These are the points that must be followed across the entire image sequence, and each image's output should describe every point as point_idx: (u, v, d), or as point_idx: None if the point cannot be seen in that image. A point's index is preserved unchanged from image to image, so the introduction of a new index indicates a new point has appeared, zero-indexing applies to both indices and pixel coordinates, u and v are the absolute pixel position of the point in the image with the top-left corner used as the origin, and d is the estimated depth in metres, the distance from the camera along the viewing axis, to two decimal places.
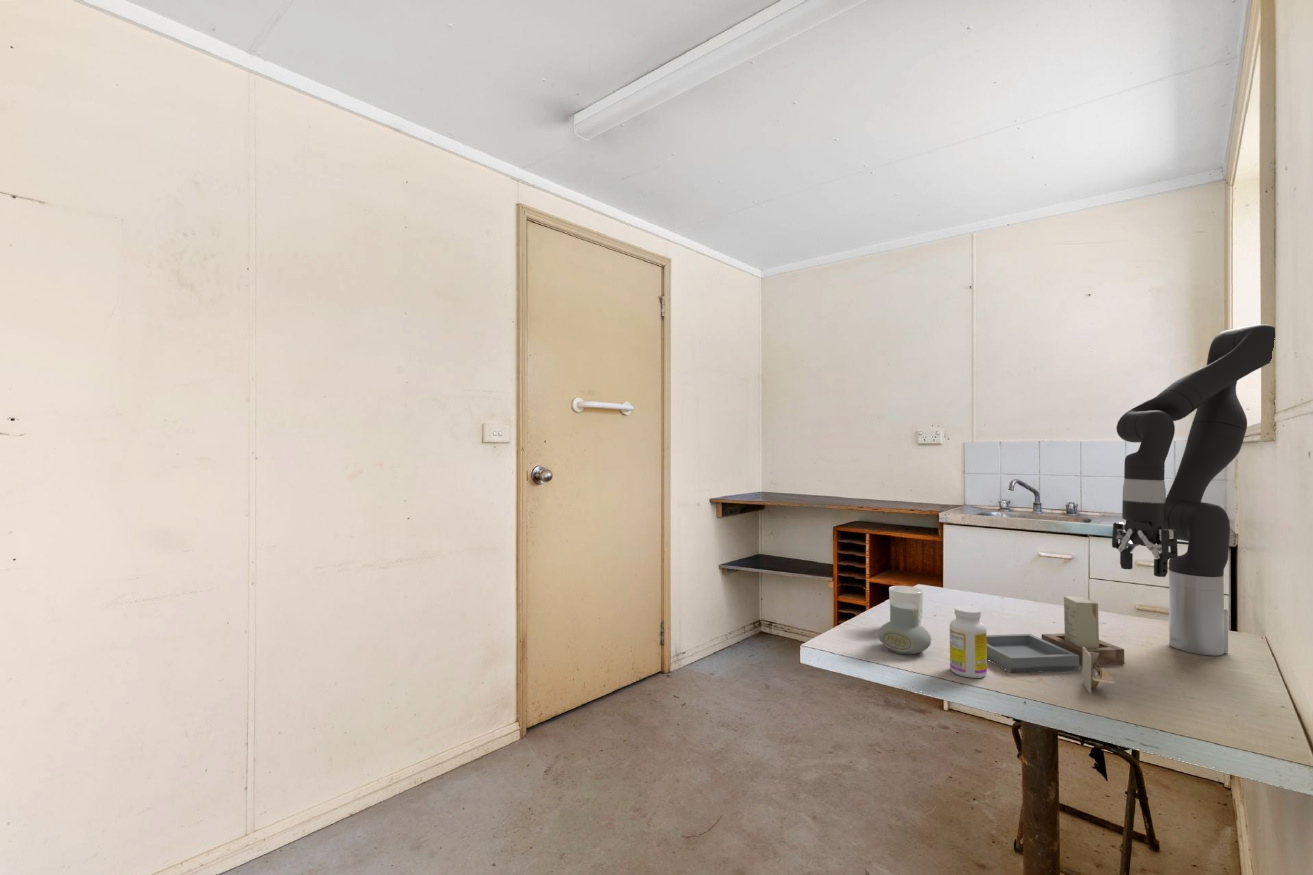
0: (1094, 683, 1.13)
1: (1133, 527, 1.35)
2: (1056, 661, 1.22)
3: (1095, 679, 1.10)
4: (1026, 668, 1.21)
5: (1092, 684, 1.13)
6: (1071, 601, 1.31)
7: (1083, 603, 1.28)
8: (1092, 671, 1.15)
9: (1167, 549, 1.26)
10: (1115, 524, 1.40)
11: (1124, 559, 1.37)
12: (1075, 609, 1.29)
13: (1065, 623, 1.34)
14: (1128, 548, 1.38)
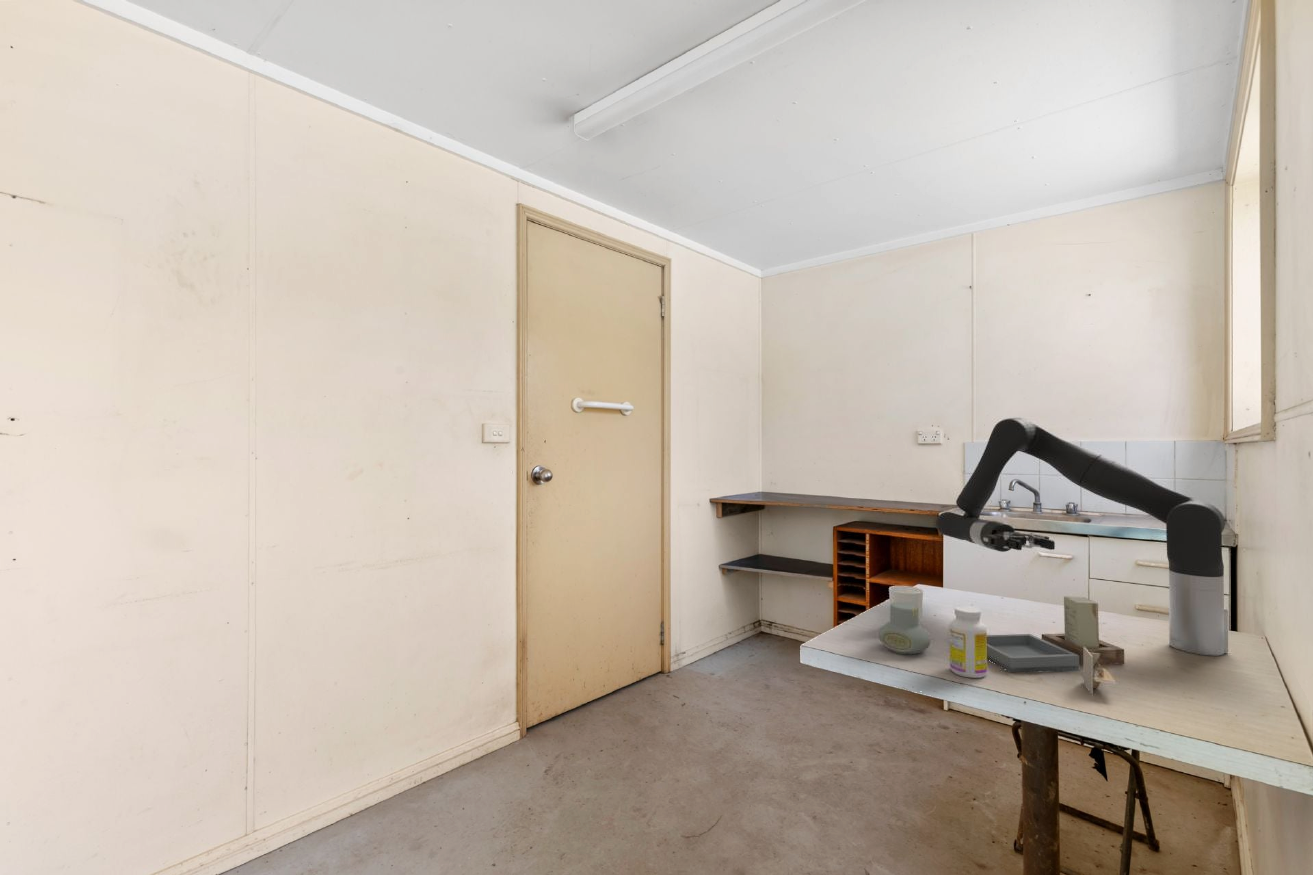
0: (1095, 684, 1.13)
1: None
2: (1056, 661, 1.22)
3: (1097, 680, 1.09)
4: (1026, 668, 1.21)
5: (1093, 685, 1.13)
6: (1071, 601, 1.31)
7: (1083, 603, 1.28)
8: (1093, 671, 1.15)
9: (992, 545, 1.50)
10: None
11: (1044, 547, 1.47)
12: (1075, 609, 1.29)
13: (1065, 623, 1.34)
14: (1038, 540, 1.49)
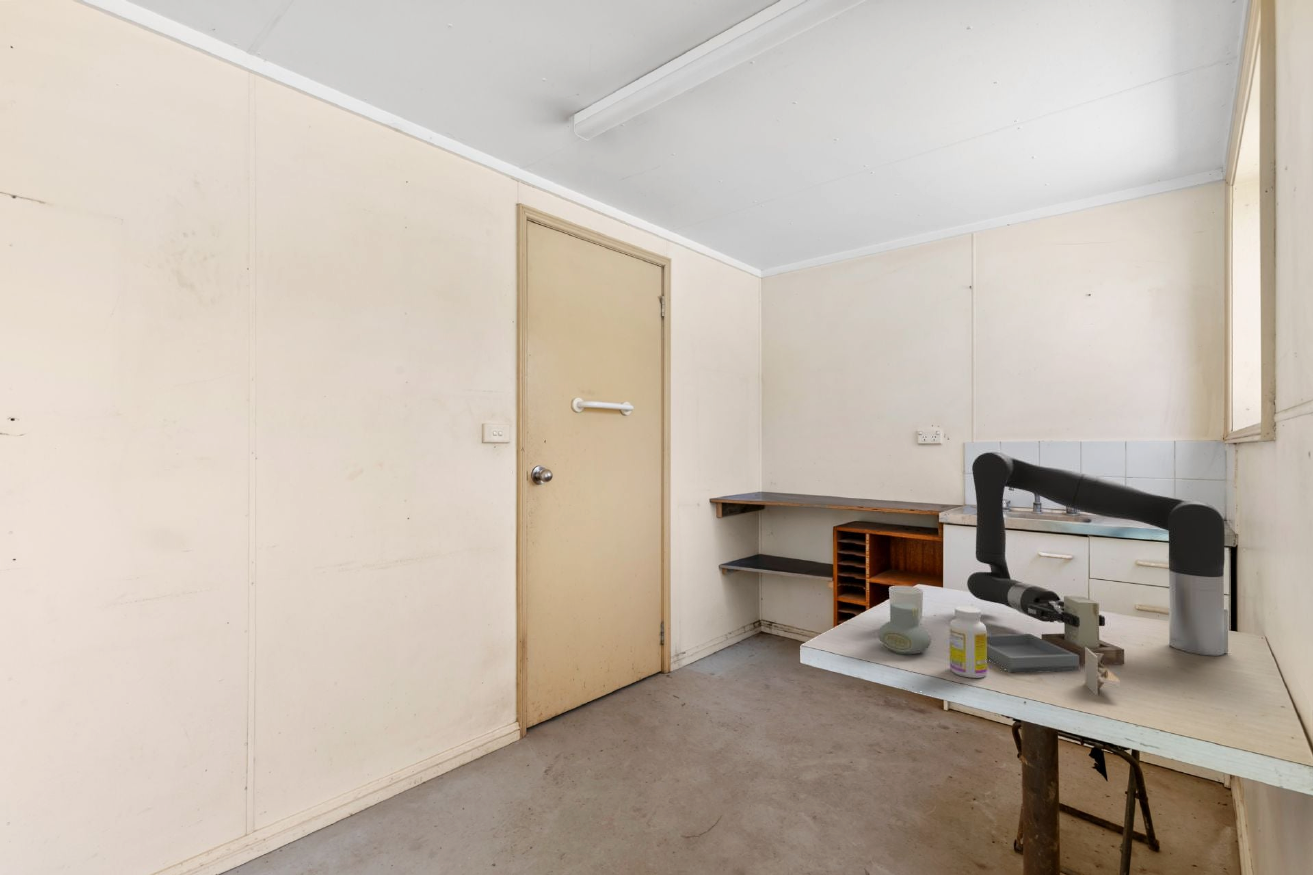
0: (1098, 684, 1.12)
1: None
2: (1056, 661, 1.22)
3: (1102, 680, 1.09)
4: (1026, 668, 1.21)
5: None
6: (1072, 601, 1.31)
7: (1084, 603, 1.28)
8: None
9: (1043, 619, 1.34)
10: None
11: None
12: (1075, 609, 1.29)
13: (1065, 623, 1.34)
14: None
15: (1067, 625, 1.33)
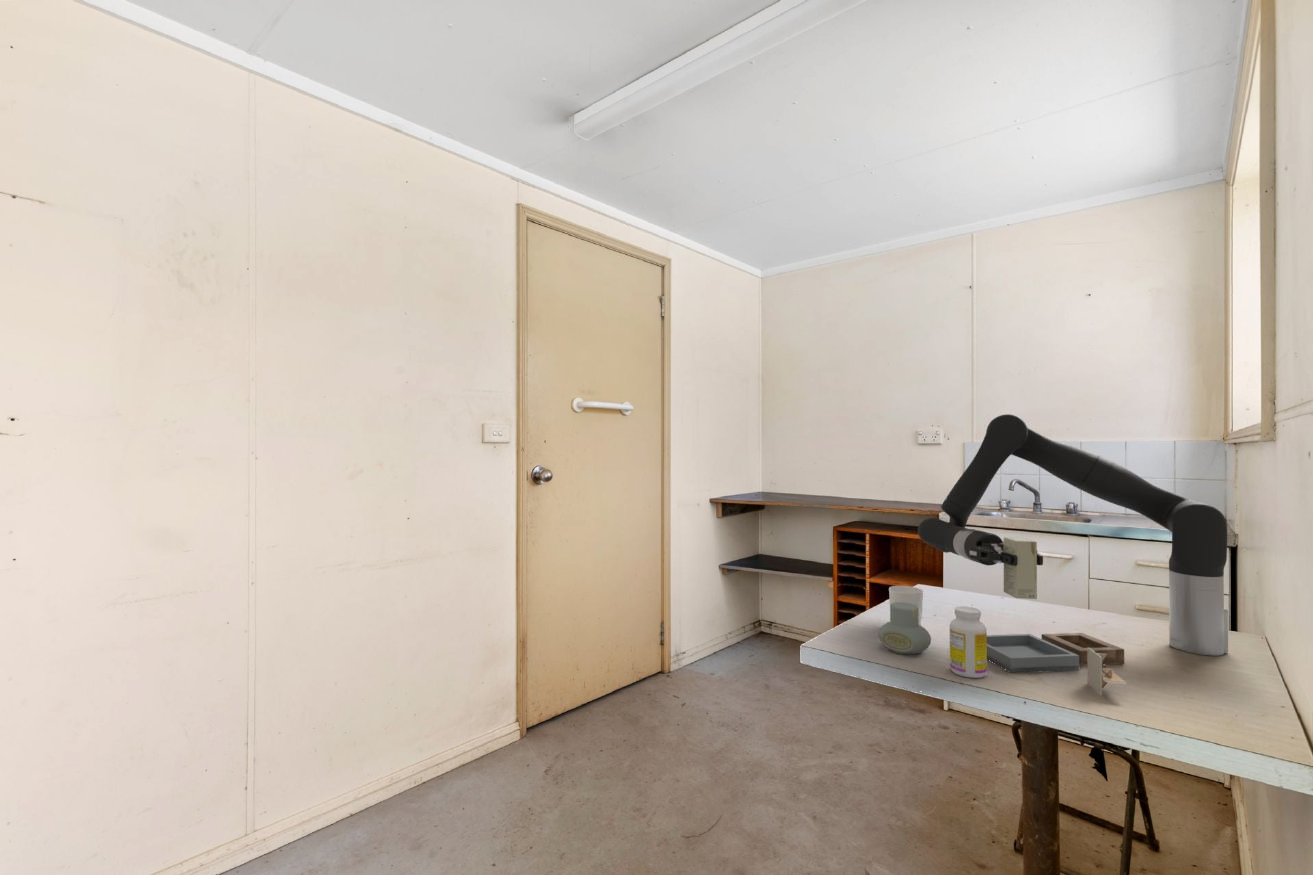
0: (1102, 684, 1.12)
1: None
2: (1056, 661, 1.22)
3: (1107, 681, 1.09)
4: (1026, 668, 1.21)
5: None
6: (1010, 541, 1.29)
7: (1022, 541, 1.26)
8: None
9: (983, 560, 1.32)
10: None
11: None
12: (1014, 548, 1.27)
13: (1004, 564, 1.31)
14: None
15: (1006, 566, 1.31)
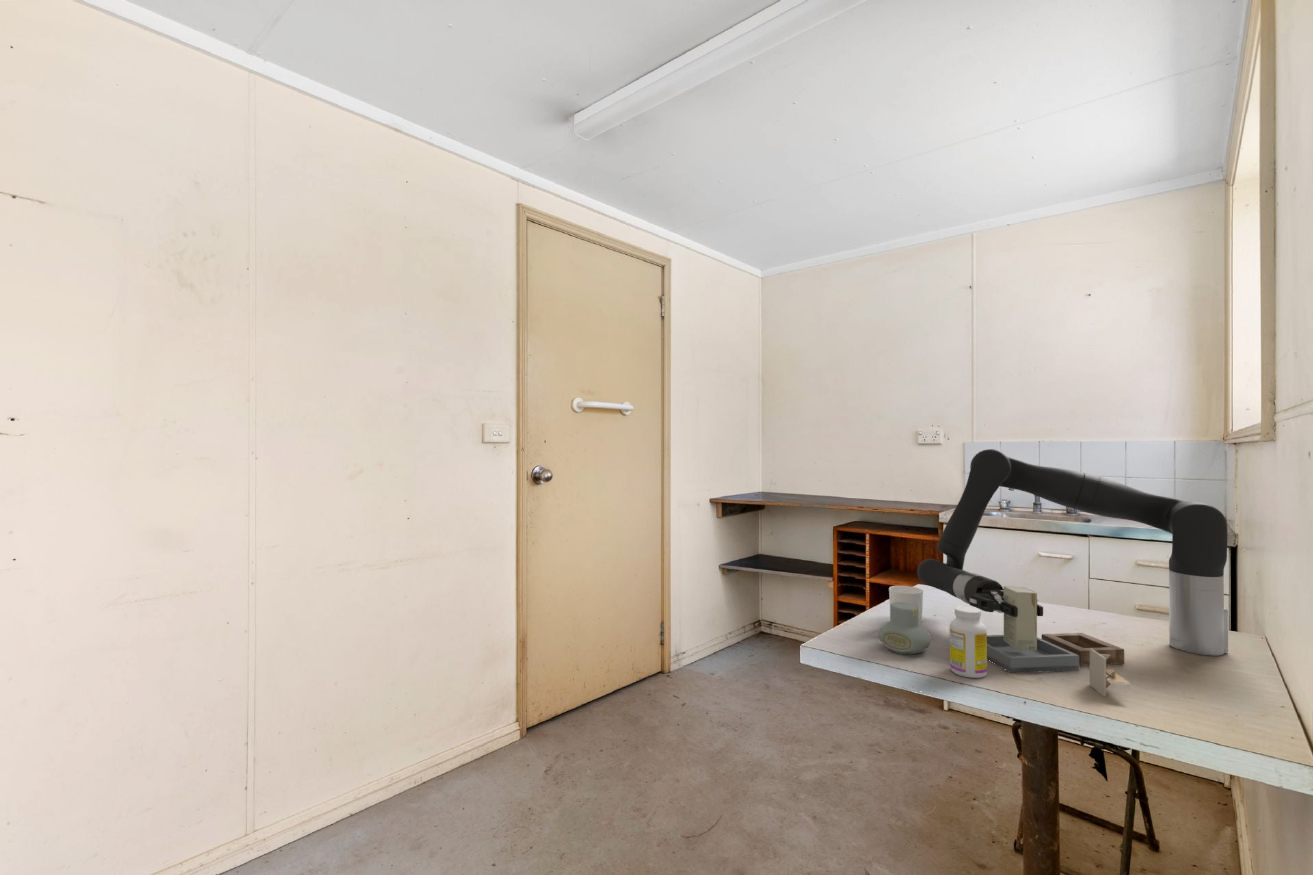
0: None
1: None
2: (1056, 661, 1.22)
3: (1111, 682, 1.08)
4: (1026, 668, 1.21)
5: None
6: (1011, 591, 1.29)
7: (1022, 593, 1.26)
8: None
9: (984, 609, 1.31)
10: None
11: None
12: (1014, 599, 1.27)
13: (1004, 613, 1.31)
14: None
15: (1006, 615, 1.30)
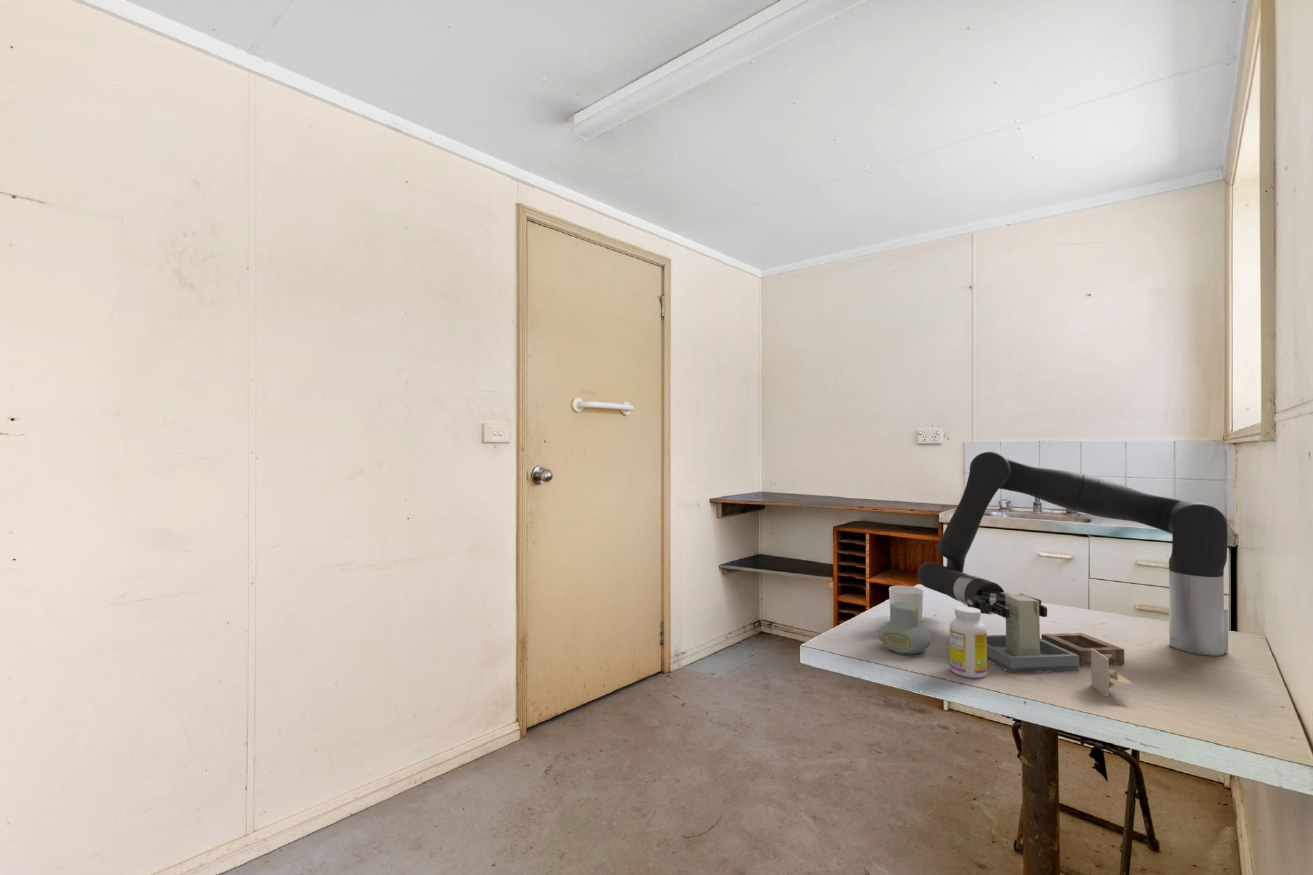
0: None
1: None
2: (1056, 661, 1.22)
3: (1114, 682, 1.08)
4: (1026, 668, 1.21)
5: None
6: (1013, 599, 1.29)
7: (1025, 601, 1.26)
8: None
9: None
10: None
11: None
12: (1016, 608, 1.27)
13: (1006, 621, 1.31)
14: None
15: (1008, 624, 1.30)
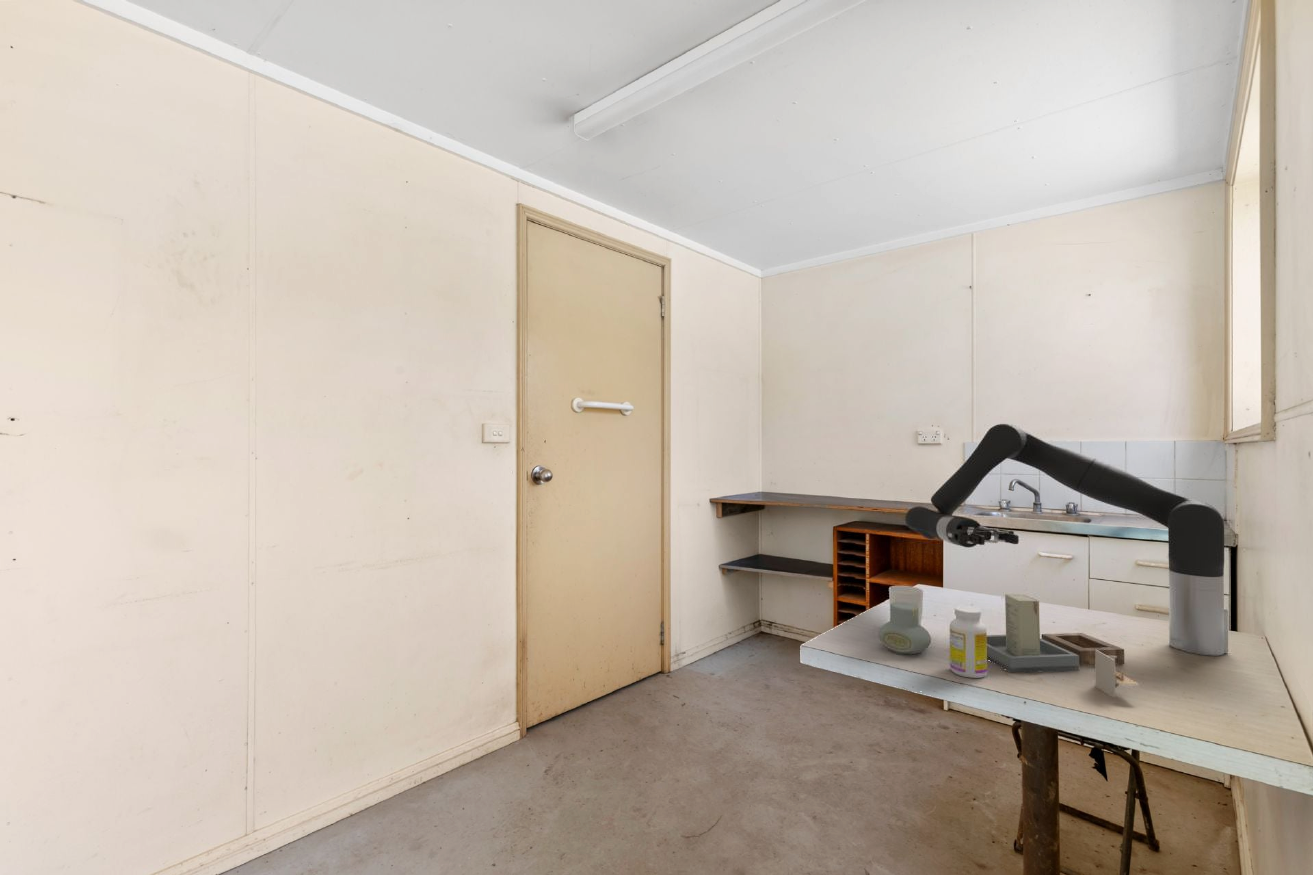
0: None
1: None
2: (1056, 661, 1.22)
3: (1121, 684, 1.08)
4: (1026, 668, 1.21)
5: None
6: (1013, 599, 1.29)
7: (1025, 601, 1.26)
8: None
9: (956, 540, 1.46)
10: None
11: (1009, 542, 1.44)
12: (1016, 608, 1.27)
13: (1006, 622, 1.31)
14: (1003, 535, 1.46)
15: (1008, 624, 1.30)
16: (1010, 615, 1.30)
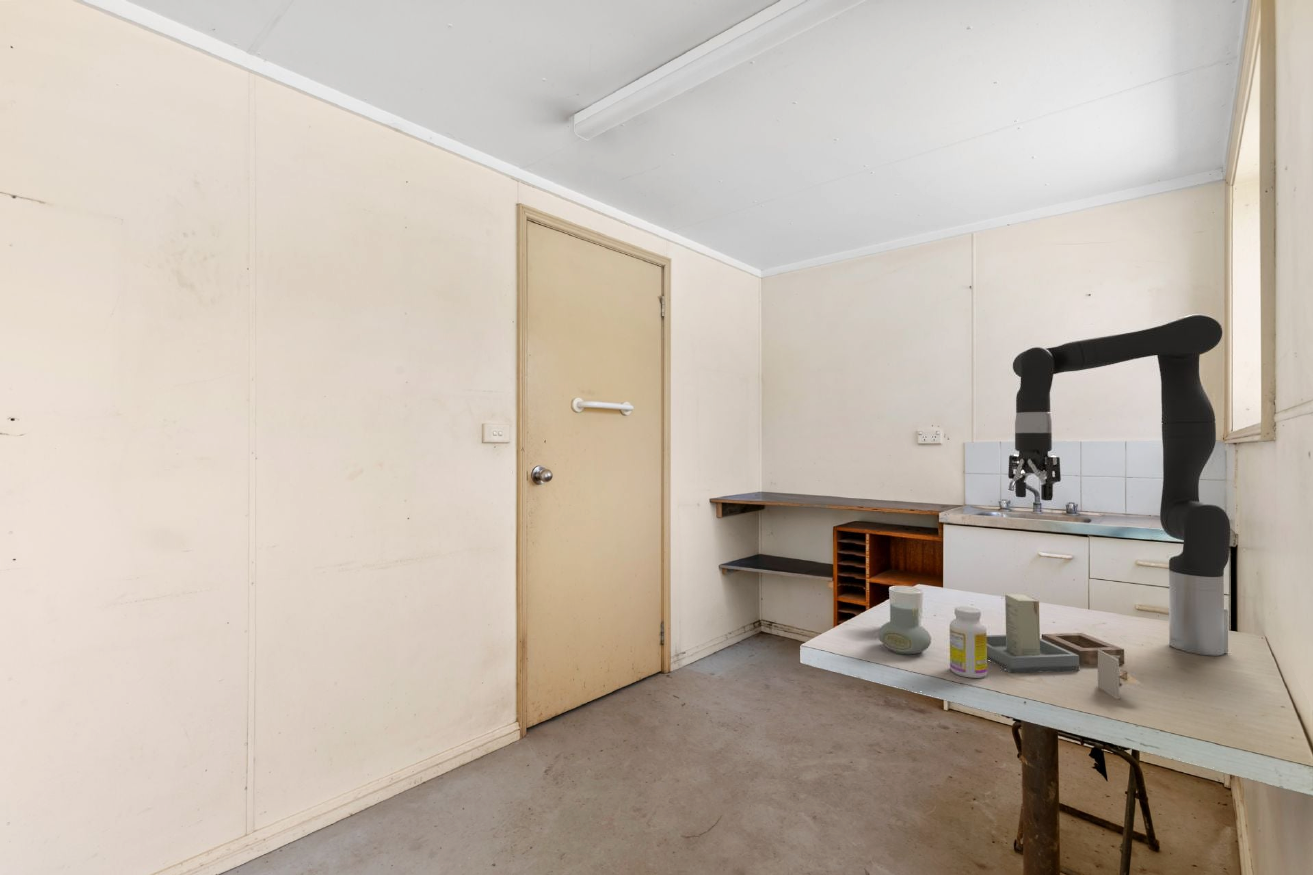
0: None
1: (1024, 457, 1.45)
2: (1056, 661, 1.22)
3: (1126, 684, 1.07)
4: (1026, 668, 1.21)
5: None
6: (1013, 599, 1.29)
7: (1025, 601, 1.26)
8: None
9: (1051, 474, 1.37)
10: (1010, 456, 1.50)
11: (1018, 488, 1.48)
12: (1016, 608, 1.27)
13: (1006, 622, 1.31)
14: (1022, 478, 1.48)
15: (1008, 624, 1.30)
16: (1010, 615, 1.30)
